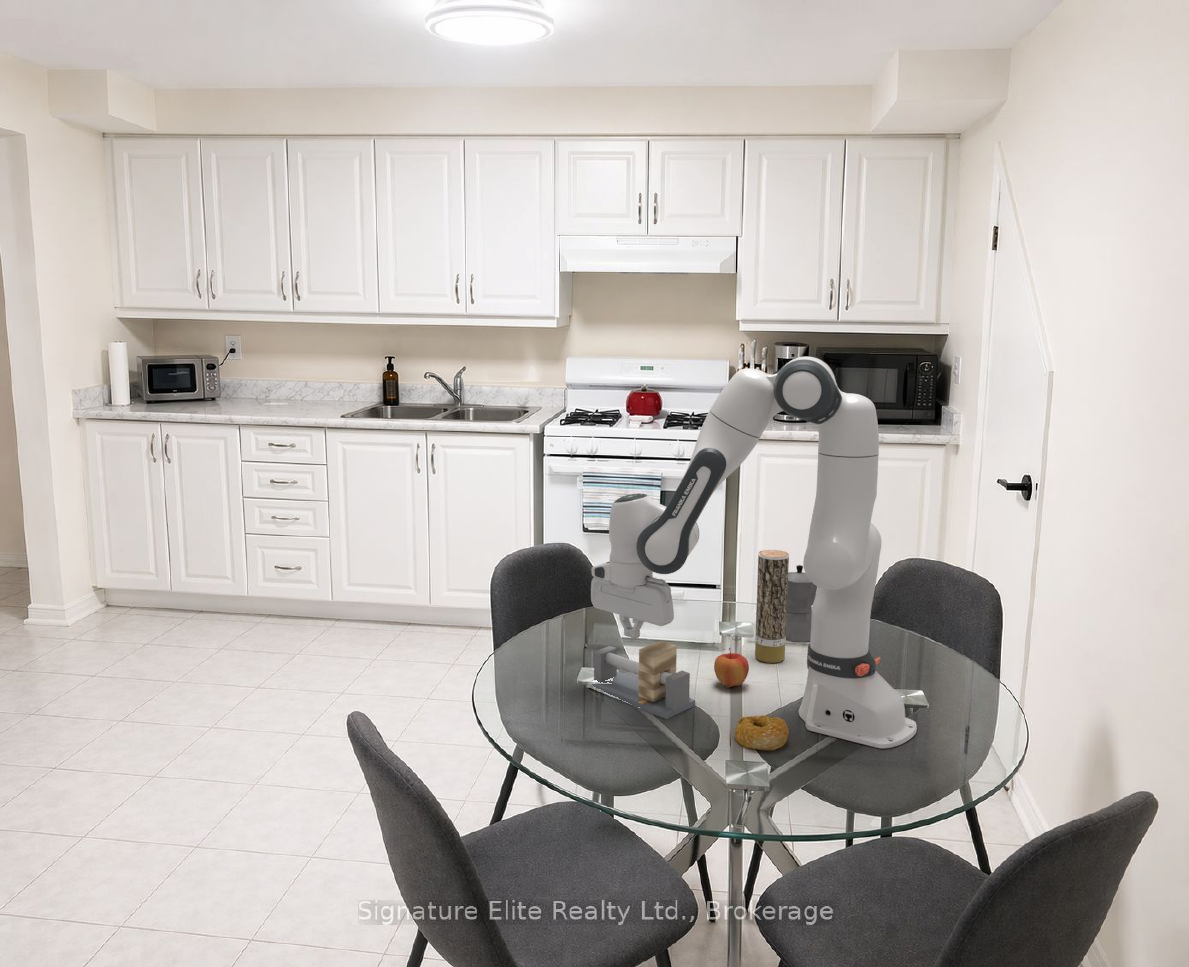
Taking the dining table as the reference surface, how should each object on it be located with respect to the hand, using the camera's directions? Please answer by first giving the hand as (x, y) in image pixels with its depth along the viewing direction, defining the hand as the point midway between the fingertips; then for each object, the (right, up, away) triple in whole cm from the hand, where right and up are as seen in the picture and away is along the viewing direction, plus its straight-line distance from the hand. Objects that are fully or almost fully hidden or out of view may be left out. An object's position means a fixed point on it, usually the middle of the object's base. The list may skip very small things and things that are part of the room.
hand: (631, 636), depth 198 cm
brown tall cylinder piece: (+33, -9, +22) cm, 40 cm away
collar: (+5, -11, -3) cm, 13 cm away
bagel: (+23, -17, -19) cm, 34 cm away
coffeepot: (+43, -6, +36) cm, 57 cm away
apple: (+21, -12, +6) cm, 25 cm away
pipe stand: (+2, -13, 0) cm, 13 cm away
